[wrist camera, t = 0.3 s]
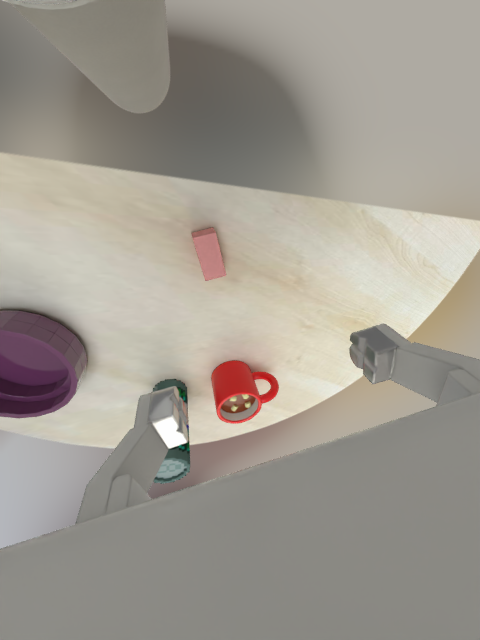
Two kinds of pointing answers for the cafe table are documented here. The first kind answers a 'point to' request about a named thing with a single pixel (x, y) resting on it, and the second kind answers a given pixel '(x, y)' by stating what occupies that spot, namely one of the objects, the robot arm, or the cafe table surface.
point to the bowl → (37, 365)
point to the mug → (239, 391)
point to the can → (177, 456)
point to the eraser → (209, 253)
